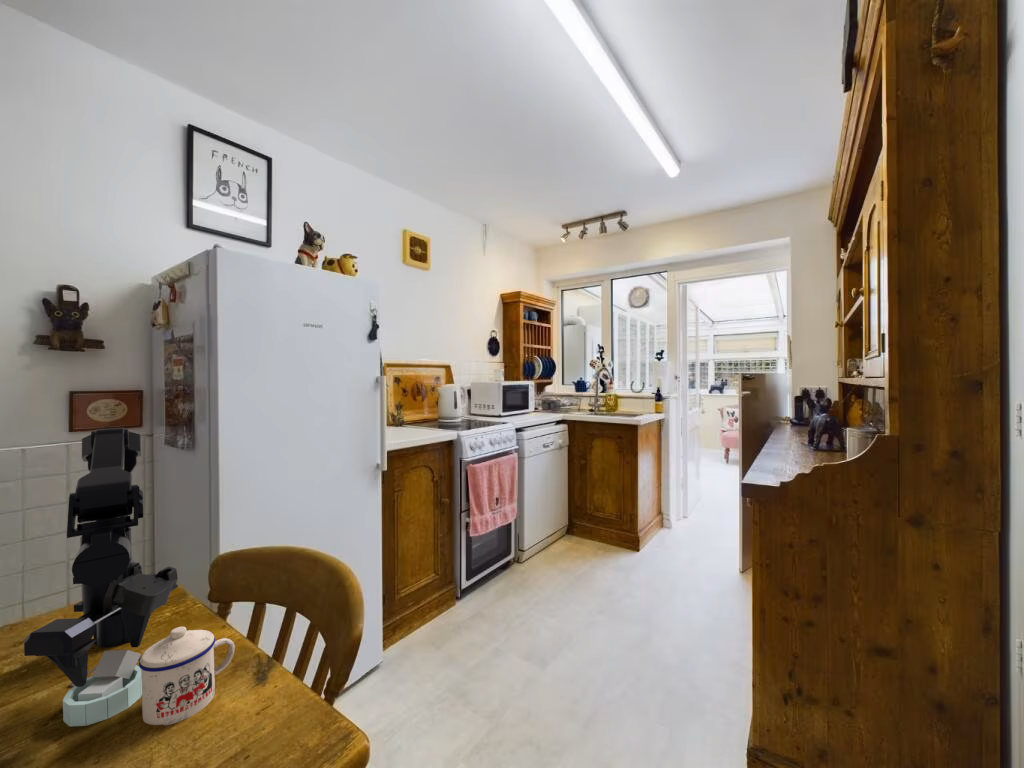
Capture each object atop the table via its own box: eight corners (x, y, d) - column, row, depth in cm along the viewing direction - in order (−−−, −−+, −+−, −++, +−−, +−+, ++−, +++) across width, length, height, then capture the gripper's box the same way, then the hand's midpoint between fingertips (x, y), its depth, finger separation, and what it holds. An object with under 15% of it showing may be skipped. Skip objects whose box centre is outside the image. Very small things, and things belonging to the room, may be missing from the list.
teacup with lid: (152, 741, 59) (149, 655, 59) (132, 713, 64) (129, 634, 64) (247, 689, 68) (245, 615, 68) (223, 668, 74) (221, 600, 74)
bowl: (46, 731, 61) (45, 706, 61) (103, 689, 69) (102, 666, 69) (108, 729, 61) (108, 703, 61) (157, 686, 70) (156, 664, 70)
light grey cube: (78, 717, 63) (77, 694, 63) (100, 700, 66) (99, 678, 66) (102, 716, 63) (102, 692, 63) (123, 699, 66) (122, 677, 66)
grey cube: (91, 677, 65) (104, 650, 67) (106, 680, 67) (119, 655, 70) (115, 676, 65) (127, 649, 67) (129, 679, 68) (140, 654, 70)
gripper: (104, 589, 57) (108, 708, 57) (202, 539, 76) (205, 628, 76) (18, 593, 57) (21, 712, 57) (138, 541, 75) (140, 631, 75)
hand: (110, 665), depth 66 cm, fingers open, 9 cm apart
